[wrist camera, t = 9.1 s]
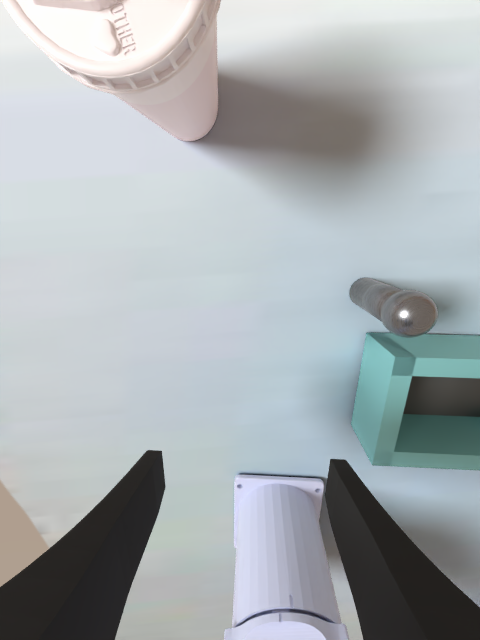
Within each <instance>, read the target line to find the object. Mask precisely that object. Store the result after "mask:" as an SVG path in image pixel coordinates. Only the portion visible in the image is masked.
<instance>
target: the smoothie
mask: <svg viewBox="0 0 480 640" xmlns="http://www.w3.org/2000/svg"><path fill="white" fill-rule="evenodd" d="M1 1H2V3H3V4H4V6H5V8H6V9H7V11H8V12H9V14H10V15H11V17H12V18H13V19H14V21H15V22H16V23H17V25H18V26H19V27H20V28H21V30H22V31H23V32H24V33H25V34H26V35H27V36H28V37H29V38H30V39H31V40H32V41H33V42H34V43H35V44H36V45H37V46H38V47H39V48H40V49H41V50H42V51H43V52H44V53H45V54H46V55H47V56H48V57H49V58H50V59H51V60H52V61H53V62H54V63H55V64H56V65H57V66H58V67H59V68H60V69H61V70H62V71H63V72H65V73H66V74H68V75H70V76H71V77H73V78H74V79H76V80H78V81H79V82H81V83H82V84H84V85H85V86H87V87H89V88H93V89H96V90H100V91H103V92H107V93H110V94H113V95H115V96H117V97H118V98H119V99H121V100H122V101H124V102H125V103H127V104H128V105H129V106H131V107H132V108H134V109H135V110H137V111H138V112H139V113H141V114H142V115H144V116H145V117H146V118H148V119H149V120H151V121H152V122H154V123H155V124H156V125H158V126H159V127H161V128H162V129H164V130H165V131H166V132H168V133H169V134H171V135H172V136H174V137H175V138H177V139H179V140H182V141H195V140H198V139H200V138H202V137H204V136H205V135H206V134H207V133H208V132H209V131H210V130H211V128H212V127H213V125H214V123H215V121H216V118H217V113H218V70H217V13H218V10H219V7H220V2H221V0H1Z"/></svg>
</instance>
